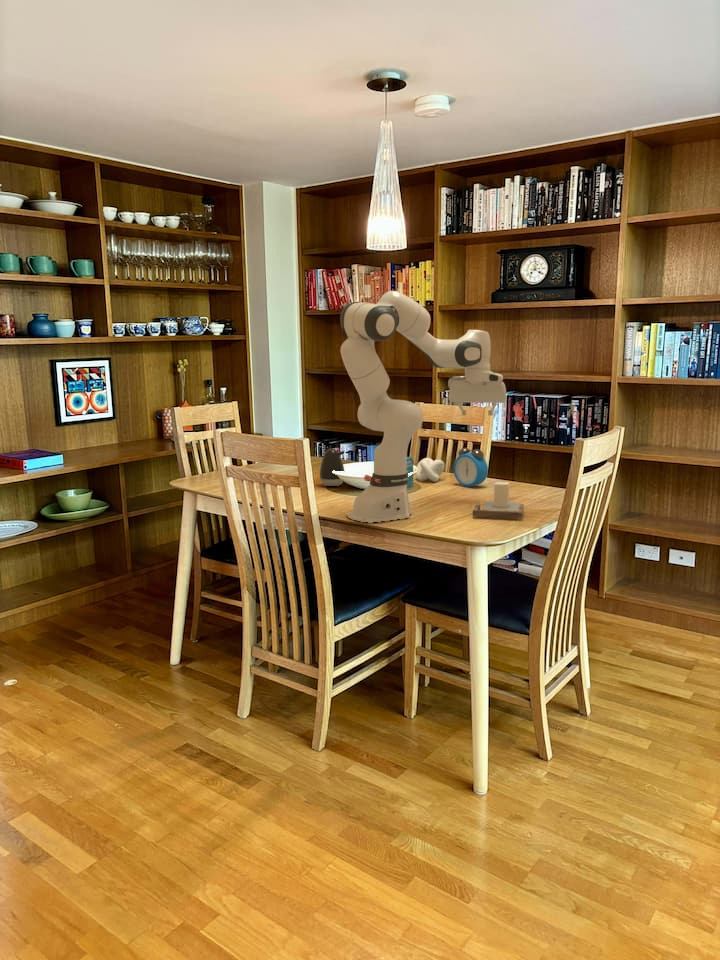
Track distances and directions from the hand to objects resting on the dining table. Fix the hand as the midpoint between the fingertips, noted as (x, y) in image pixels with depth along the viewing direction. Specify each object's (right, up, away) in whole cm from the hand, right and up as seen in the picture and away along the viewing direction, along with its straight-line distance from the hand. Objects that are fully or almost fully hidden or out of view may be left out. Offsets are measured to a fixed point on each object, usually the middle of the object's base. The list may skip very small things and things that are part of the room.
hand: (477, 415), depth 263 cm
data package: (-25, -27, +29) cm, 47 cm away
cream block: (+7, -32, -9) cm, 34 cm away
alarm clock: (+2, -26, +31) cm, 41 cm away
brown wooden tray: (+4, -36, -20) cm, 41 cm away
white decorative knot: (-13, -24, +42) cm, 50 cm away
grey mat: (+7, -33, -9) cm, 35 cm away
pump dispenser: (-53, -26, +37) cm, 69 cm away
